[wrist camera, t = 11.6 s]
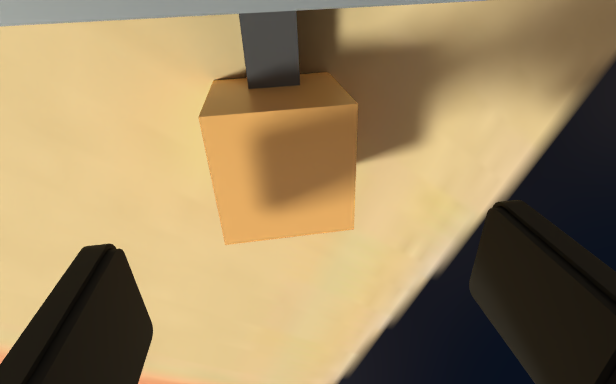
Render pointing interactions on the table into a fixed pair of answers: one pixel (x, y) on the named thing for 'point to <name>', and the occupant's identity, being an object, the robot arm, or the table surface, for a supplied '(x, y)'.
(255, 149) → the cube-ended rod
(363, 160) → the table surface
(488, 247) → the robot arm
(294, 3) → the housing
